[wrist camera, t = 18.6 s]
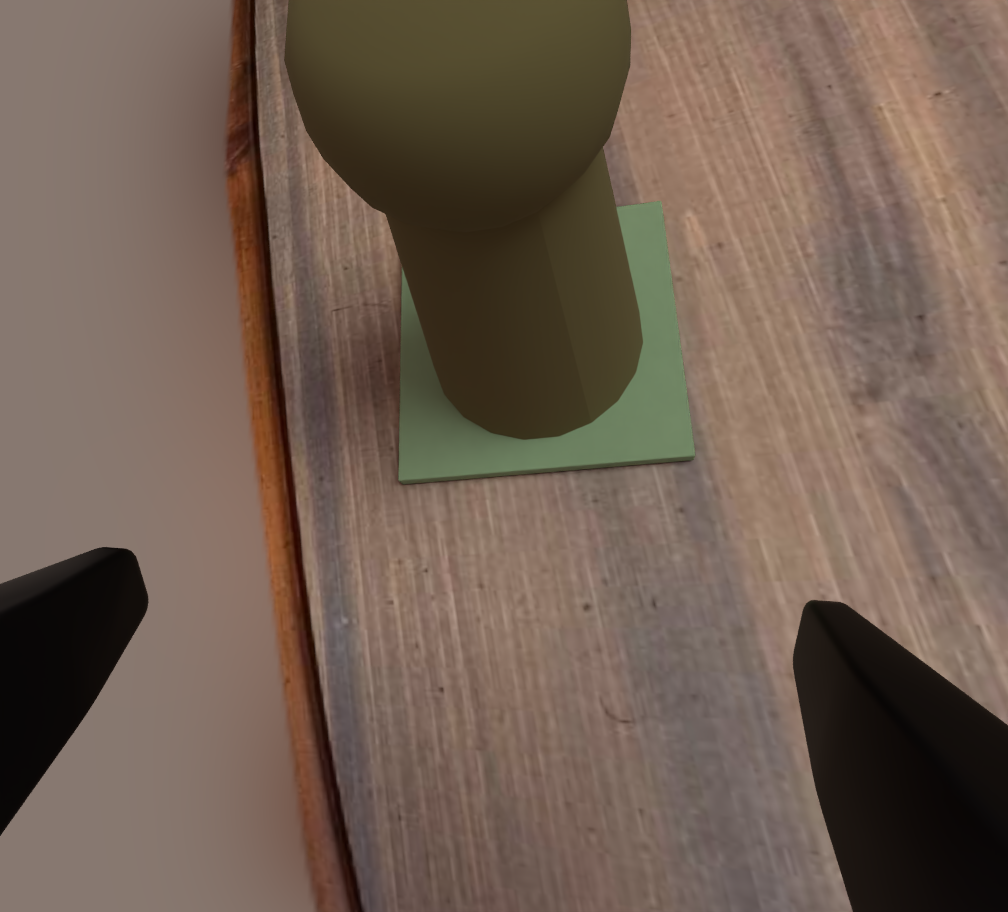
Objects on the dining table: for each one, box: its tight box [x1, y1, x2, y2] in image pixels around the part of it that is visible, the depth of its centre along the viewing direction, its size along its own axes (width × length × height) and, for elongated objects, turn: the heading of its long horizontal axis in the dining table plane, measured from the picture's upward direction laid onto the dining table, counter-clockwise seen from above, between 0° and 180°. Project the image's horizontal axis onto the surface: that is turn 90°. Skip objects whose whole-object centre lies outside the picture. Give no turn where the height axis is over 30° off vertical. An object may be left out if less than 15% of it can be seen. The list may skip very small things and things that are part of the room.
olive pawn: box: [284, 0, 643, 440], centre depth 14 cm, size 6×6×11 cm
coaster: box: [398, 201, 695, 484], centre depth 19 cm, size 8×8×1 cm
